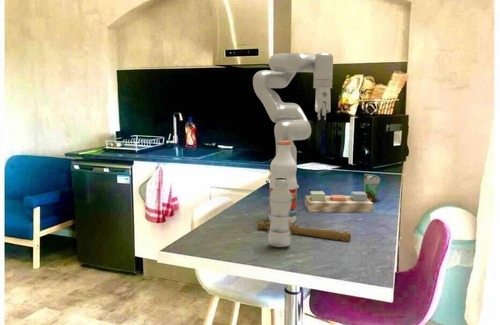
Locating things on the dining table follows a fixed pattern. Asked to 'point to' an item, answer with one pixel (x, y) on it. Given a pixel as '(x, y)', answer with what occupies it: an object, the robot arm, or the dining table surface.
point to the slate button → (358, 196)
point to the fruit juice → (284, 174)
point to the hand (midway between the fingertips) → (321, 129)
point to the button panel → (338, 205)
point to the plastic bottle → (280, 214)
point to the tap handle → (311, 232)
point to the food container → (371, 186)
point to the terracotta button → (338, 198)
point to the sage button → (317, 196)
